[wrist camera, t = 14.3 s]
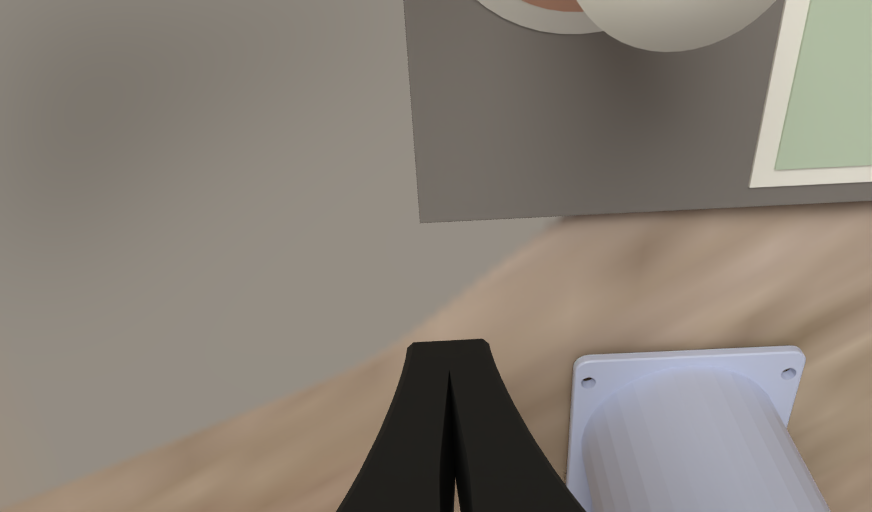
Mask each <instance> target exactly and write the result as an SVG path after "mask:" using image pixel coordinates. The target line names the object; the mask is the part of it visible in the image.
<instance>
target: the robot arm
mask: <svg viewBox="0 0 872 512" xmlns="http://www.w3.org/2000/svg"><path fill="white" fill-rule="evenodd" d="M805 360H806V357H805V356H804V354H803V353H802V351H801V349H800V348H798V347H796V346H770V347H748V348H726V349H705V350H683V351H661V352H639V353H617V354H595V355H585V356H582V357H580V358H578V359H577V360H576V361H575V362H574V366H573V379H572V395H571V411H570V427H569V443H568V459H567V475H566V485H565V484H564V482H563V481H562V480H561V478H560V477H559V476H558V474H557V473H556V471H555V470H554V468H553V467H552V466H551V464H550V463H549V461H548V460H547V458H546V457H545V455H544V453H543V452H542V450H541V449H540V447H539V446H538V444H537V443H536V441H535V439H534V438H533V436H532V435H531V433H530V431H529V430H528V428H527V426H526V424H525V423H524V421H523V419H522V417H521V416H520V414H519V412H518V410H517V409H516V407H515V405H514V403H513V401H512V399H511V397H510V395H509V393H508V391H507V389H506V387H505V385H504V383H503V381H502V379H501V376H500V374H499V372H498V369H497V367H496V364H495V362H494V359H493V356H492V353H491V350H490V346H489V343H487V342H486V341H485V340H484V339H469V340H451V341H432V342H413V343H412V344H411V345H410V346H409V347H408V348H407V353H406V359H405V363H404V367H403V371H402V374H401V377H400V380H399V383H398V386H397V389H396V392H395V395H394V398H393V400H392V403H391V405H390V408H389V410H388V412H387V415H386V417H385V420H384V422H383V424H382V427H381V429H380V431H379V434H378V436H377V438H376V440H375V442H374V444H373V446H372V448H371V450H370V452H369V454H368V456H367V458H366V460H365V462H364V464H363V466H362V468H361V470H360V472H359V473H358V475H357V477H356V479H355V481H354V482H353V484H352V486H351V488H350V489H349V491H348V493H347V495H346V496H345V498H344V500H343V501H342V503H341V504H340V506H339V508H338V509H337V511H336V512H454V495H455V477H456V484H457V491H458V497H459V504H460V511H461V512H831V511H830V509H829V507H828V506H827V504H826V502H825V500H824V498H823V496H822V494H821V492H820V491H819V489H818V487H817V485H816V483H815V481H814V479H813V478H812V476H811V474H810V472H809V470H808V468H807V466H806V465H805V463H804V461H803V459H802V457H801V455H800V453H799V451H798V450H797V448H796V446H795V444H794V442H793V440H792V438H791V437H790V435H789V433H788V431H787V425H788V422H789V418H790V415H791V411H792V407H793V404H794V400H795V397H796V393H797V390H798V386H799V383H800V379H801V376H802V372H803V369H804V365H805ZM789 368H790V369H789ZM786 369H789V370H788V371H785V372H783V371H784V370H786ZM588 377H590V378H592V379H591V380H588V381H583V379H585V378H588Z"/></svg>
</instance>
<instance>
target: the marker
mask: <svg viewBox="0 0 872 512" xmlns="http://www.w3.org/2000/svg"><path fill="white" fill-rule="evenodd" d="M775 1H776V0H577V2H578V3H579V5H580V6H581V8H582V9H583V10H584V12H585V13H586V15H587V16H588V17H589V18H590V19H591V20H592V21H593V22H594V23H595V24H596V25H597V26H598V27H599V28H600V29H602V30H603V31H604V32H606V33H607V34H608V35H610V36H611V37H613V38H615V39H617V40H619V41H620V42H622V43H625V44H628V45H630V46H633V47H636V48H640V49H644V50H648V51H658V52H680V51H686V50H692V49H697V48H700V47H704V46H707V45H711V44H713V43H716V42H718V41H720V40H723V39H725V38H727V37H729V36H731V35H733V34H734V33H736V32H738V31H740V30H742V29H743V28H744V27H746V26H747V25H749V24H750V23H752V22H753V21H754V20H756V19H757V18H758V17H759V16H760V15H761V14H763V13H764V12H765V11H766V10H767V9H768V8H769V7H770V6H771V5H772V4H773V3H774V2H775Z"/></svg>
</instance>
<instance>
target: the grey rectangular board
mask: <svg viewBox="0 0 872 512" xmlns="http://www.w3.org/2000/svg"><path fill="white" fill-rule="evenodd" d="M404 12H405V26H406V40H407V53H408V67H409V81H410V94H411V108H412V121H413V133H414V134H413V135H414V146H415V147H414V148H415V162H416V175H417V189H418V203H419V216H420V223H431V222H451V221H471V220H491V219H510V218H511V219H512V218H532V217H552V216H572V215H592V214H612V213H632V212H653V211H673V210H693V209H713V208H733V207H753V206H774V205H794V204H814V203H834V202H854V201H872V0H776V1H775V2H774V3H773V4H772V5H771V6H770V7H769V8H768V9H767V10H766V11H765V12H764V13H763V14H761V15H760V16H759V17H758V18H757V19H756V20H754V21H753V22H752V23H750V24H749V25H747V26H746V27H744V28H743V29H742V30H740V31H738V32H736V33H734V34H733V35H731V36H729V37H727V38H725V39H723V40H720V41H718V42H716V43H713V44H711V45H707V46H704V47H700V48H697V49H692V50H686V51H680V52H658V51H648V50H644V49H640V48H636V47H633V46H630V45H628V44H625V43H622V42H620V41H619V40H617V39H615V38H613V37H611V36H610V35H608V34H607V33H606V32H604V31H603V30H602V29H600V28H599V27H598V26H597V25H596V24H595V23H594V22H593V21H592V20H591V19H590V18H589V17H588V16H587V15H586V13H585V12H584V10H583V9H582V8H581V6H580V5H579V3H578V2H577V0H404Z"/></svg>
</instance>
